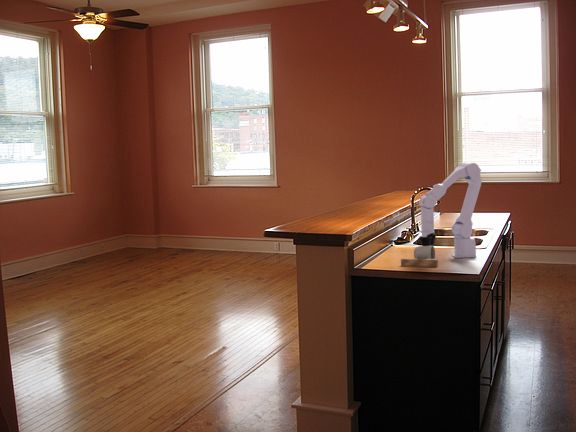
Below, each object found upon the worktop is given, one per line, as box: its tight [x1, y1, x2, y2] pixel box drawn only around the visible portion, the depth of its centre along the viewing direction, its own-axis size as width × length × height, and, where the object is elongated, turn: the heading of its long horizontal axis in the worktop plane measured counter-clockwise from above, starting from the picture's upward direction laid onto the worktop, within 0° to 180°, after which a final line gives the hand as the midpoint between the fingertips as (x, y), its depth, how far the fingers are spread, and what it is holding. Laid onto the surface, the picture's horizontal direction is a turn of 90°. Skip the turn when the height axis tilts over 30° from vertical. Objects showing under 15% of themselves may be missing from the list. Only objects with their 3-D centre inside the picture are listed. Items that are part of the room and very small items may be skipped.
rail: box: [400, 257, 439, 268], centre depth 287 cm, size 16×2×3 cm, turn 64°
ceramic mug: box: [413, 245, 436, 259], centre depth 294 cm, size 11×8×8 cm
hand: (428, 250), depth 302 cm, fingers open, 7 cm apart
